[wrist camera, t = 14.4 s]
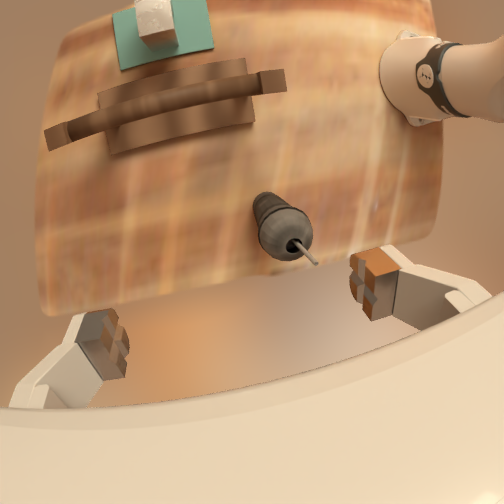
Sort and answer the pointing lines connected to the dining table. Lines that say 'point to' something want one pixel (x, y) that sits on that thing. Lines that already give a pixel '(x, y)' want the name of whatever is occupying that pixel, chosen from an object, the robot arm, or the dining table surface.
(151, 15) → the tall rectangular pillar
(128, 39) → the mat
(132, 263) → the dining table surface
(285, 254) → the beverage cup
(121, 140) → the stand
